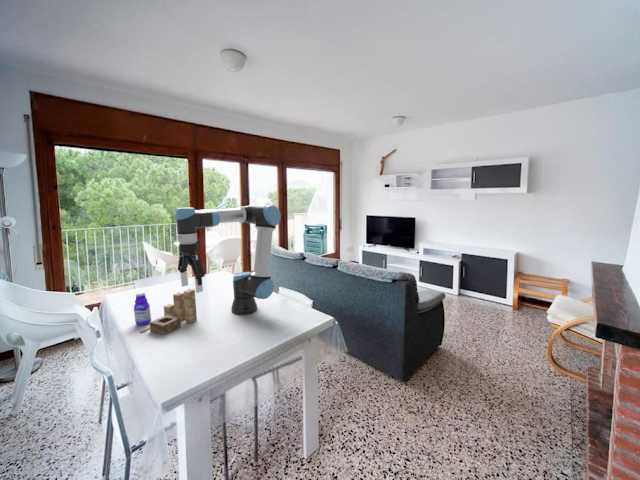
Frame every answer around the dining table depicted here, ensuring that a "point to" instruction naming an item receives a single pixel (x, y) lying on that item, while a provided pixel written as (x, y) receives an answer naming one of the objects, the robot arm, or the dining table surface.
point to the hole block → (165, 325)
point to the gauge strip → (145, 330)
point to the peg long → (190, 306)
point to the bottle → (142, 309)
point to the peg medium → (179, 305)
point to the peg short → (169, 310)
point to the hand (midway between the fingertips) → (192, 288)
